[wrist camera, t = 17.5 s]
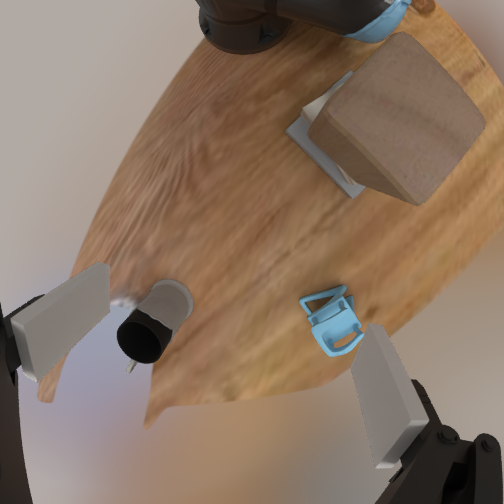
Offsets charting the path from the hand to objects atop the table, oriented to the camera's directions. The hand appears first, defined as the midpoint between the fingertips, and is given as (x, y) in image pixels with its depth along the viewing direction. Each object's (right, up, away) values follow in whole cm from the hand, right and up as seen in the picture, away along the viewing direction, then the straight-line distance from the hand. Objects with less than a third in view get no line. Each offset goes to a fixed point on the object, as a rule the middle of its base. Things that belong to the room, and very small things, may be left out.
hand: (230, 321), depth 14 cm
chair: (+15, -6, +39) cm, 42 cm away
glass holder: (-15, -8, +43) cm, 46 cm away
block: (+14, +18, +22) cm, 32 cm away
